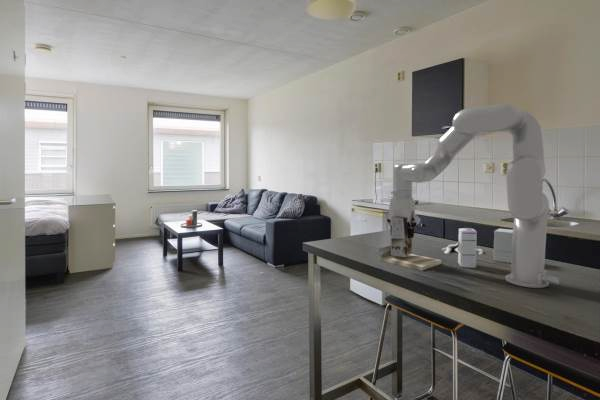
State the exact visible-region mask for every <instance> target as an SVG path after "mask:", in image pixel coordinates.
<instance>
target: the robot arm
mask: <svg viewBox="0 0 600 400" xmlns="http://www.w3.org/2000/svg"><path fill="white" fill-rule="evenodd" d="M492 132H493V133H495V132H500V133H501V132H502V133H508V134H510V135H511V136H512V153H513V154H512V155H513V156H512V157H513V160H512V161H511V162H510V163H509V164H508V166H507V169H506V173H505V175H506V176H505V178H506V179H505V180H506V192H507V195H506V196H507V197H506V198H507V207H508V211H509V213H510V214H511V215H512V217H513V227H512V230H513V240H512V260H511V263H510V273H508V274H506V275H505V276H504V279H505V280H506V282H508V283H509V284H512V285H515V286H518V287H525V288H529V289H530V288H531V289H532V288H533V289H543V288H547V287H549V285H550V283H551V284H554V285H559V282H560V279H559V277H557V276H554V275H549V274H548V270H546V269H545V261H546V245H547V243H546V242H547V231H548V230H547V229H548V219H549V211H550V201H549V199H548V196H547V195H546V194H545V193H544V192H543V181H542V180H543V179H544V178H545V175H546V166H545V155H544V154H545V153H544V145H543V144H544V143H543V142H544V141H543V133H542V127H541V124H540V122H539V119H537V118H536V117H535V115H533V114H531V113H529V112H528V111H525V110H522V109H520V108H517V107H514V106H512V105H509V104H494V105H486V106H482V107H481V106H479V107H469V108H465V109H461V110H459V111H458V112H457V113H456V114H454V117H453V118H452V125H451V127H450V128H449V129H447V130H446V132H445V133H444V134H442V136H440V138H438V141H437V149H436V151H435V152H434V153H433V155H432V156H430V158H428V159H427V160H426V161H425V162H421V163H419V162H418V163H413V164H409V163H403V164H402V163H399V164H395V165H393V168H392V169H393V170H392V171H393V173H392V175H393V176H392V179H393V180H392V181H393V182H392V190H391V192H390V194H392V196H391V198H390V200H389V201H390V202H389V206H388V207H389V208H388V213H386V214H385V215H384V217H385V219H386V221H387V223H388V225H389V226H390V234H391V233H392V217H405V218H407V223H408V226H409V229H408V238H412V239H414V236H415V228H416V227H417V226H418V225H419V223H420V222H421V220H422V219H421V218H420V217H419V216H418V215H417V214H416V210H415V209H416V206H415V200H414V197H413V183H414V184H415V183H416V184H418V183H419V184H420V183H425V182H426V183H427V182H431V181H432V180H434V179H436V178H437V177H438V176H439V175H440V174H441V173H442V172H444V170H445V169H446V168H447V167H448V166H449V165H450V164H451V163H452V162H453V160H454V159H455V157H456V156H457V155H458V153H460V152H461V151H462V150H463V149H464V148H465V147H466V146H467V145H468V144H469V143H470V142H472V141H473V139H475V138H476V137H477V136H478V135H479V134H481V133H492Z"/></svg>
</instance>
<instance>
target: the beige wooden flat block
mask: <svg viewBox="0 0 600 400" xmlns="http://www.w3.org/2000/svg"><path fill="white" fill-rule="evenodd" d="M378 251H379V252H378V260H379V261H381V262H384V263H388V264H392V265H395V266H396V265H397V266H400V267H406V268H410V269H413V270H418V271H424V270H428V269H430V268H433V267H436V266H439V265H441V264H442V260H441V259H437V258H433V257H427V256H423V255H418V254H414V253H411V254H409V255H408V256H406V257H401V256H393V255H391V244H387V245H383V246H379V248H378Z"/></svg>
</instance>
